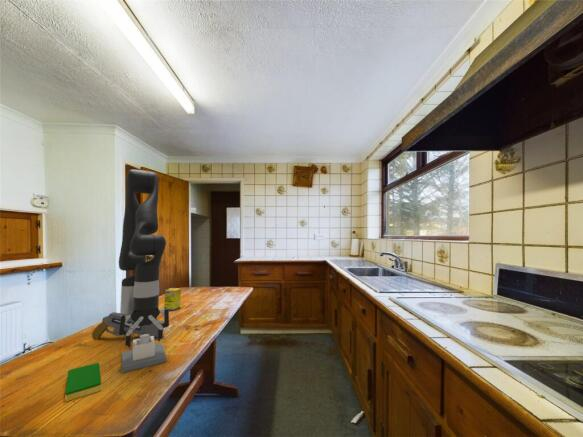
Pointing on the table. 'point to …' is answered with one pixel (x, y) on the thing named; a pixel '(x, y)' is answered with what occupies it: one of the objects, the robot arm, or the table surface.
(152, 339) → the ring
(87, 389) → the dish sponge
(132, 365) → the post stand
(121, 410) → the table surface
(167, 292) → the supplement box
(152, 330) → the gun
